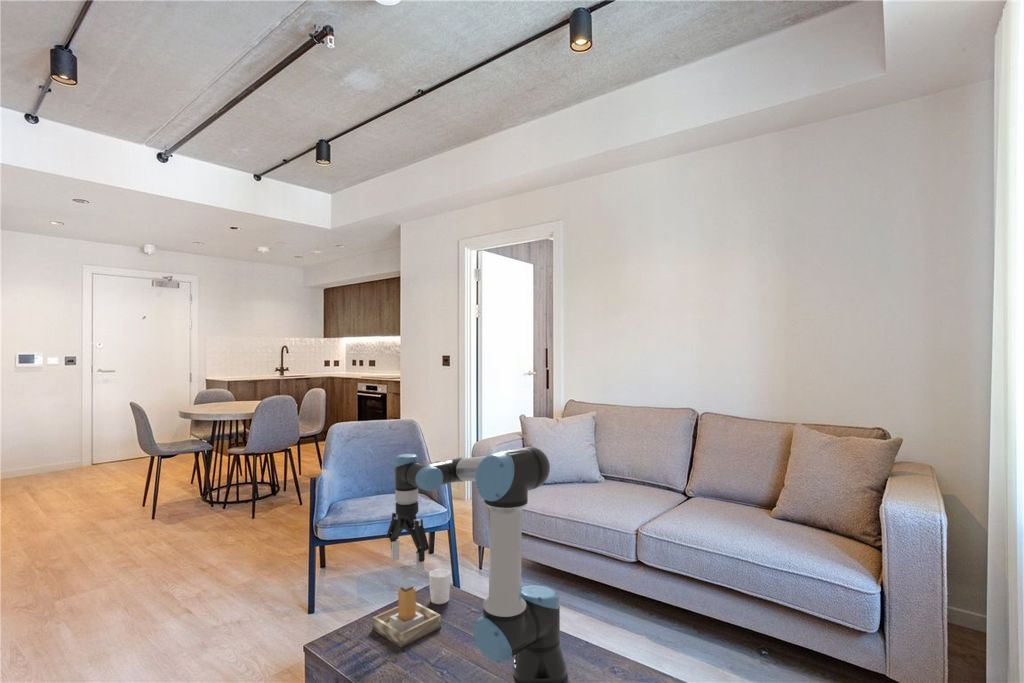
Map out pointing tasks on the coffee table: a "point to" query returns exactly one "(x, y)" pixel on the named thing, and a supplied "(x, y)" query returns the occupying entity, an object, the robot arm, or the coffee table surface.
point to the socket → (406, 625)
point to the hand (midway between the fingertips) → (407, 565)
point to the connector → (406, 602)
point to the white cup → (439, 585)
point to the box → (403, 638)
